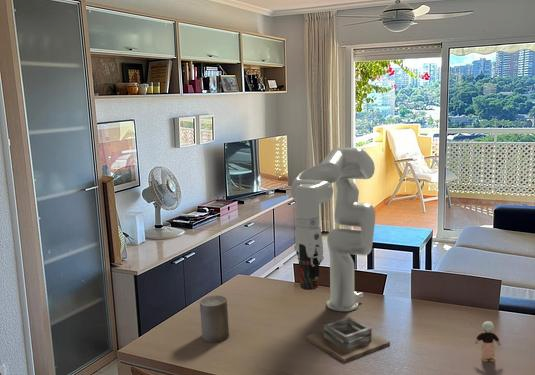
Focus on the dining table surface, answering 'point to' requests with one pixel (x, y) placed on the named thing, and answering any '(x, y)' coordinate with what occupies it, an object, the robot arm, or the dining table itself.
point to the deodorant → (306, 270)
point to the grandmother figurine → (488, 342)
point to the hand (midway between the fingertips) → (309, 273)
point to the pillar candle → (214, 318)
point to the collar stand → (347, 339)
